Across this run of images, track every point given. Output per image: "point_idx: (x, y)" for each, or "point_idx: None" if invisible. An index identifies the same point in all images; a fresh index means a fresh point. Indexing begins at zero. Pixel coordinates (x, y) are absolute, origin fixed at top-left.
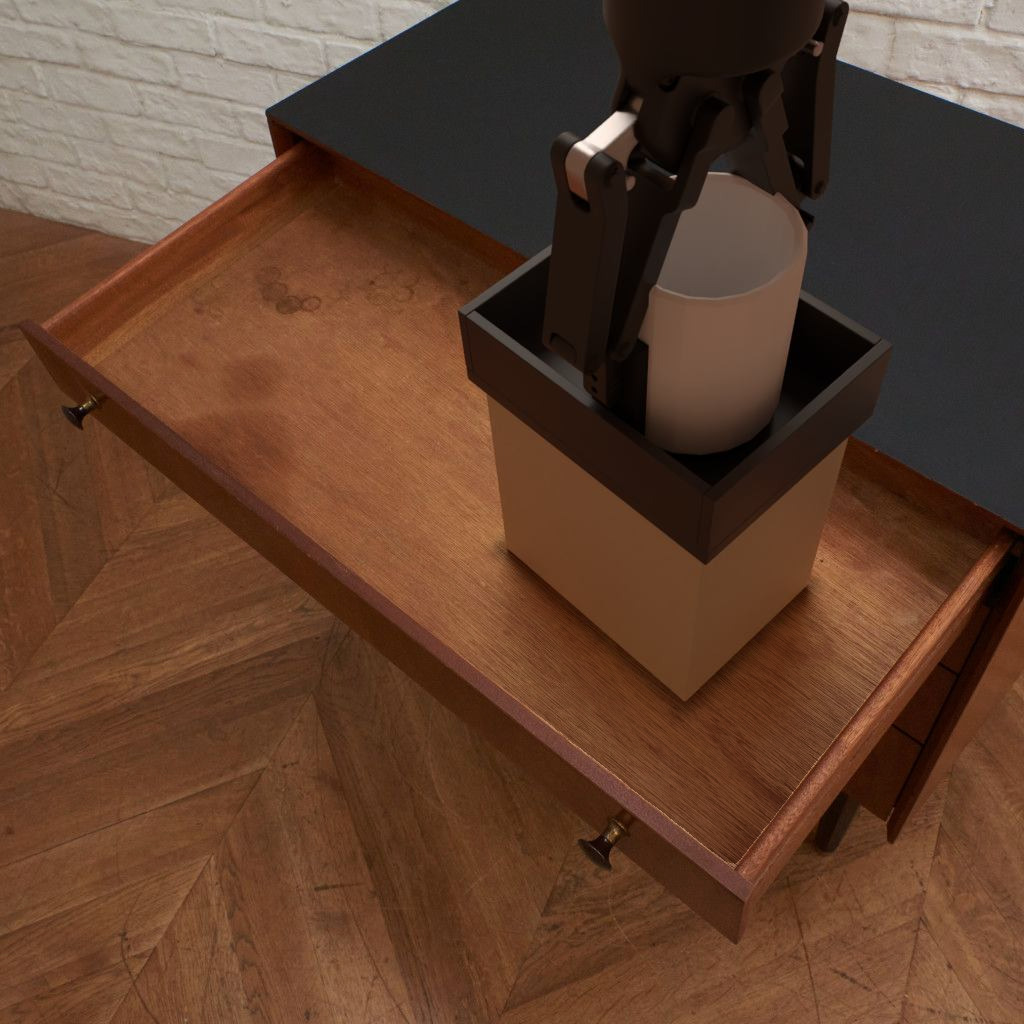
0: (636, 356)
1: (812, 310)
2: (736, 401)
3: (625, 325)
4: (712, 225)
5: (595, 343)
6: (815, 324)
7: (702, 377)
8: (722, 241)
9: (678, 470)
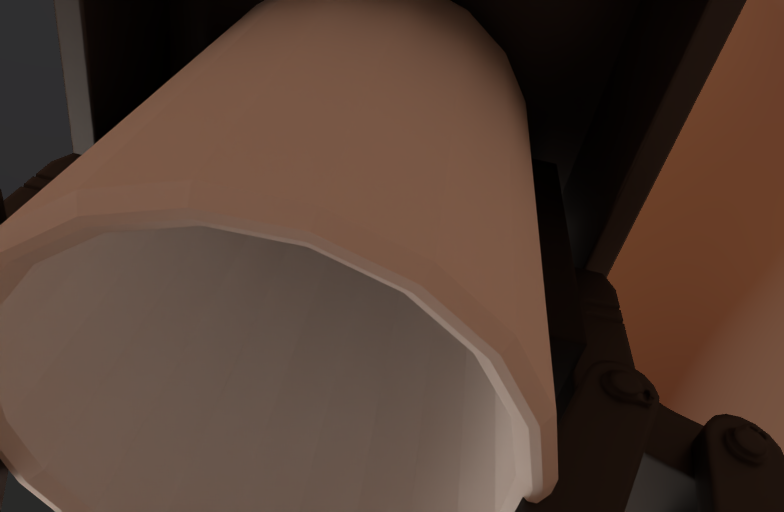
0: (585, 341)
1: (91, 36)
2: (460, 60)
3: (637, 462)
4: (134, 368)
5: (766, 509)
6: (107, 11)
7: (516, 175)
8: (139, 317)
9: (694, 78)
